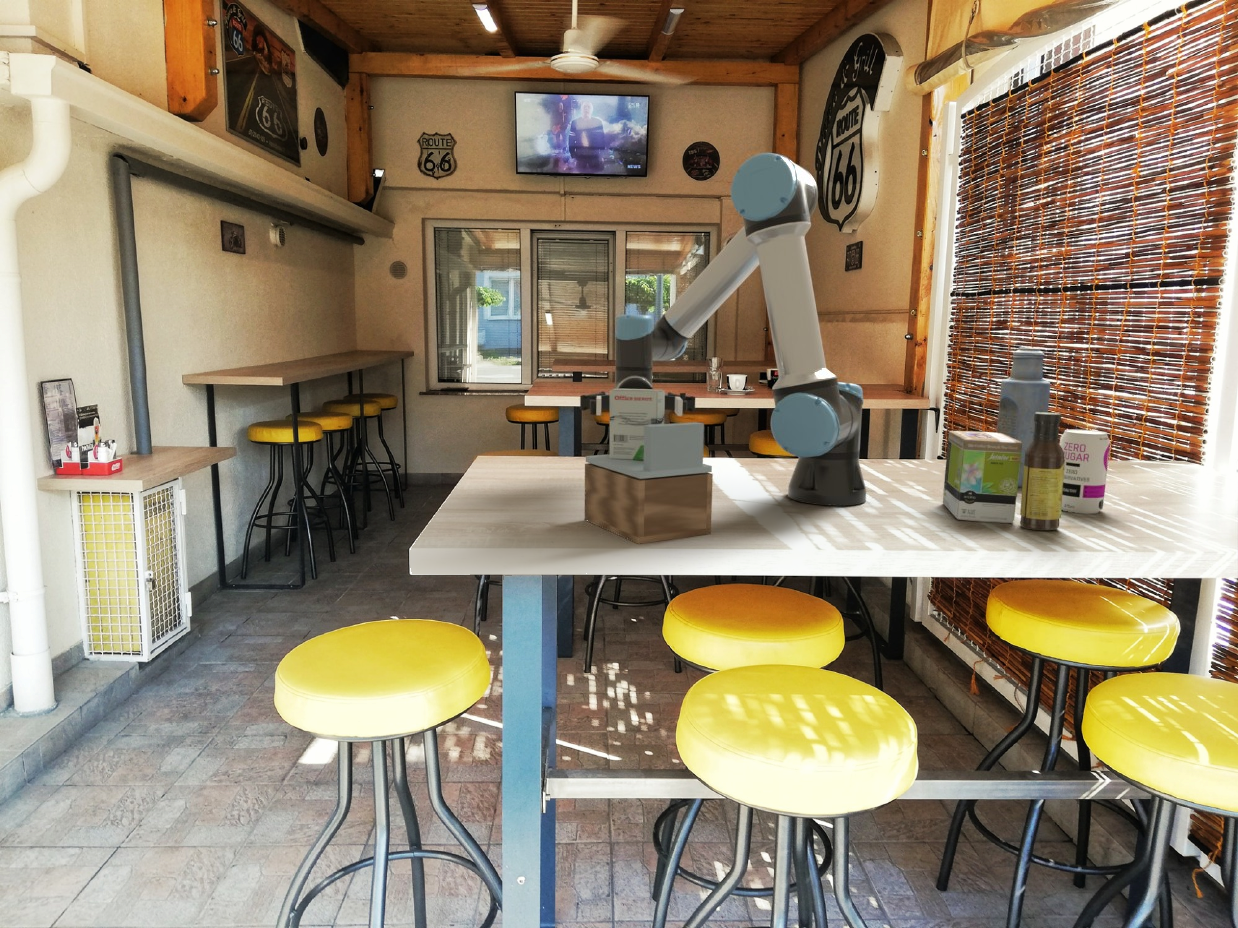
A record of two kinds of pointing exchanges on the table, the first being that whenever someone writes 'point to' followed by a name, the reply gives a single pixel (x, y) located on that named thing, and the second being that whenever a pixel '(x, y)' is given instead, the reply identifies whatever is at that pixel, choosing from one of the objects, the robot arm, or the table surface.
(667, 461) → the lid
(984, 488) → the tea box
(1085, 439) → the supplement can
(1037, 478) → the sauce bottle
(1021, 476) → the bottle
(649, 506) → the crate
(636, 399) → the ink box
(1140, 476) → the table surface
